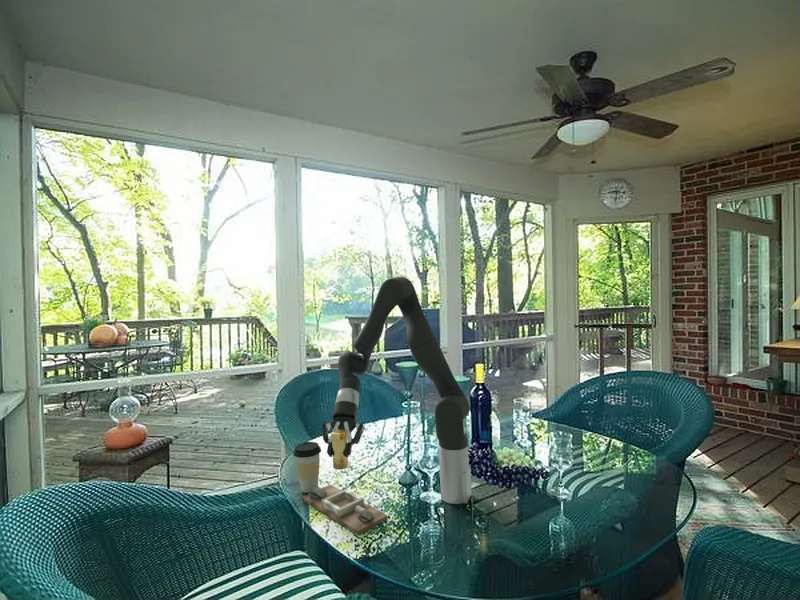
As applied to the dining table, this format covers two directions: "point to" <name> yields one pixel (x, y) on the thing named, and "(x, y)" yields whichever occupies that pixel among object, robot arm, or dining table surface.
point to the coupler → (339, 449)
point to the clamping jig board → (345, 508)
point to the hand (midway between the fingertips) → (338, 455)
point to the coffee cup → (307, 464)
